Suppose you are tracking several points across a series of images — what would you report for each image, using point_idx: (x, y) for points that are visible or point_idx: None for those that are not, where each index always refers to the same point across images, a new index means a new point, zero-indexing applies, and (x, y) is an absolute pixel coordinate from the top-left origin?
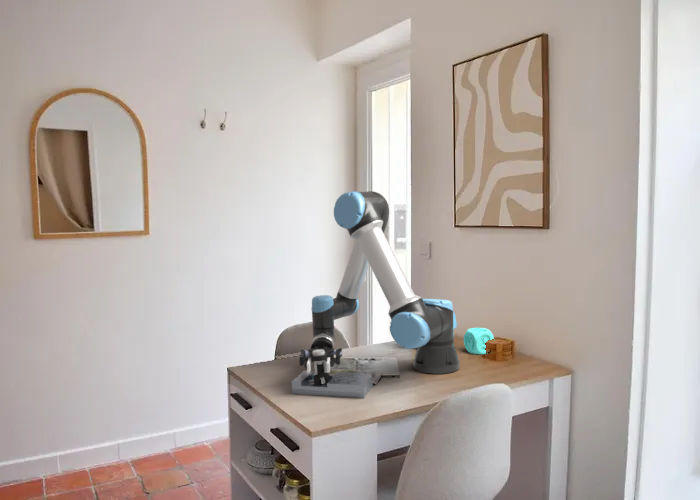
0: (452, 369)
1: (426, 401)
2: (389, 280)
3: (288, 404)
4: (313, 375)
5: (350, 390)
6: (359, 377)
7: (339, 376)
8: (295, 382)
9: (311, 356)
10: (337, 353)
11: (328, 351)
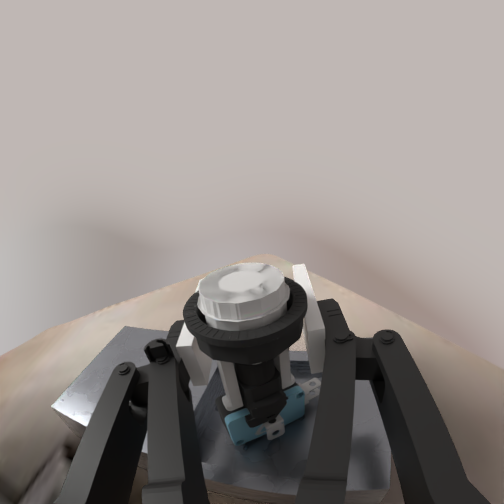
0: None
1: (47, 334)
2: None
3: (353, 311)
4: (299, 388)
5: None
6: (103, 382)
7: None
8: None
9: (289, 280)
10: (102, 427)
11: (156, 483)
